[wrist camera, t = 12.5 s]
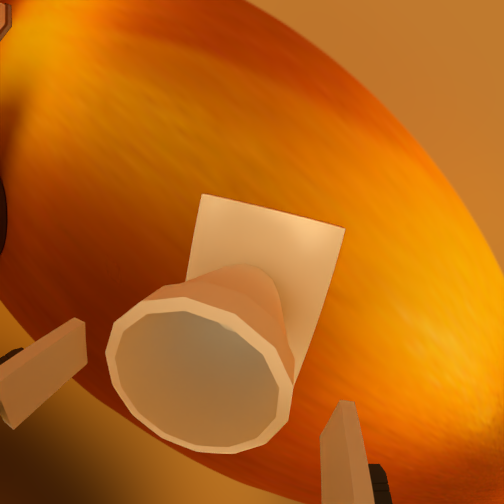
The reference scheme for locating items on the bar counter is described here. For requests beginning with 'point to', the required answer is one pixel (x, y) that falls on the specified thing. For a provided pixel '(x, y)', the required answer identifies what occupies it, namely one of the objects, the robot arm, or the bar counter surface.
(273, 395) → the foam cup
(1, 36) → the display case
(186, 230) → the bar counter surface
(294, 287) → the tile
